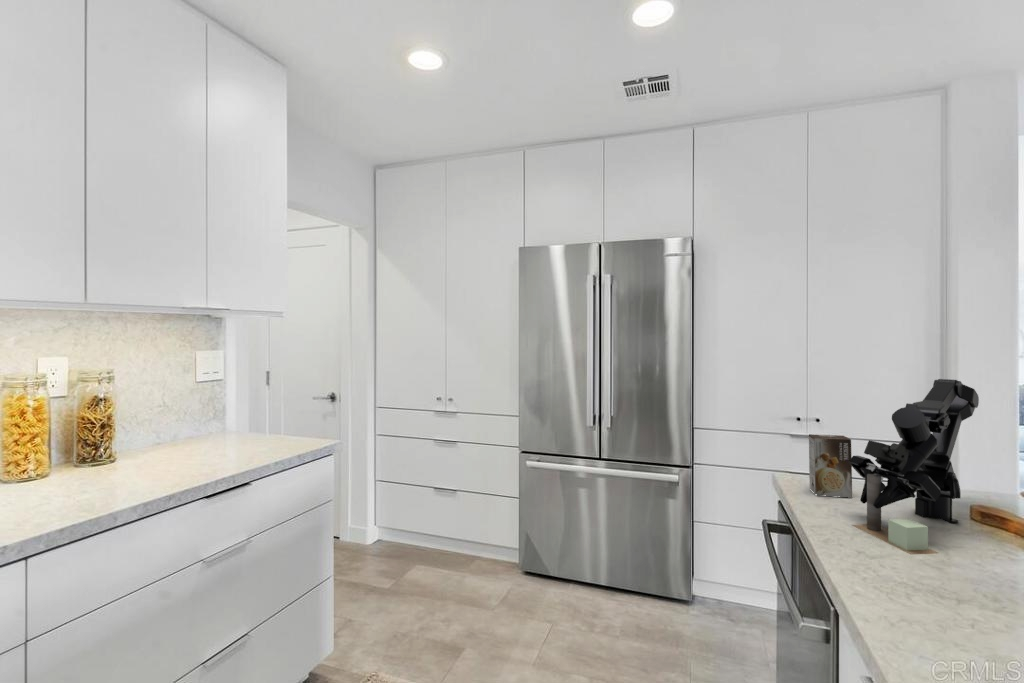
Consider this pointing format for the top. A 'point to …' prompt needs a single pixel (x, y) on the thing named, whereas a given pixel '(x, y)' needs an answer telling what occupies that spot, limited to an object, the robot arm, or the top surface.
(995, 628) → the top surface
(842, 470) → the coffee box
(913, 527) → the sage cube
